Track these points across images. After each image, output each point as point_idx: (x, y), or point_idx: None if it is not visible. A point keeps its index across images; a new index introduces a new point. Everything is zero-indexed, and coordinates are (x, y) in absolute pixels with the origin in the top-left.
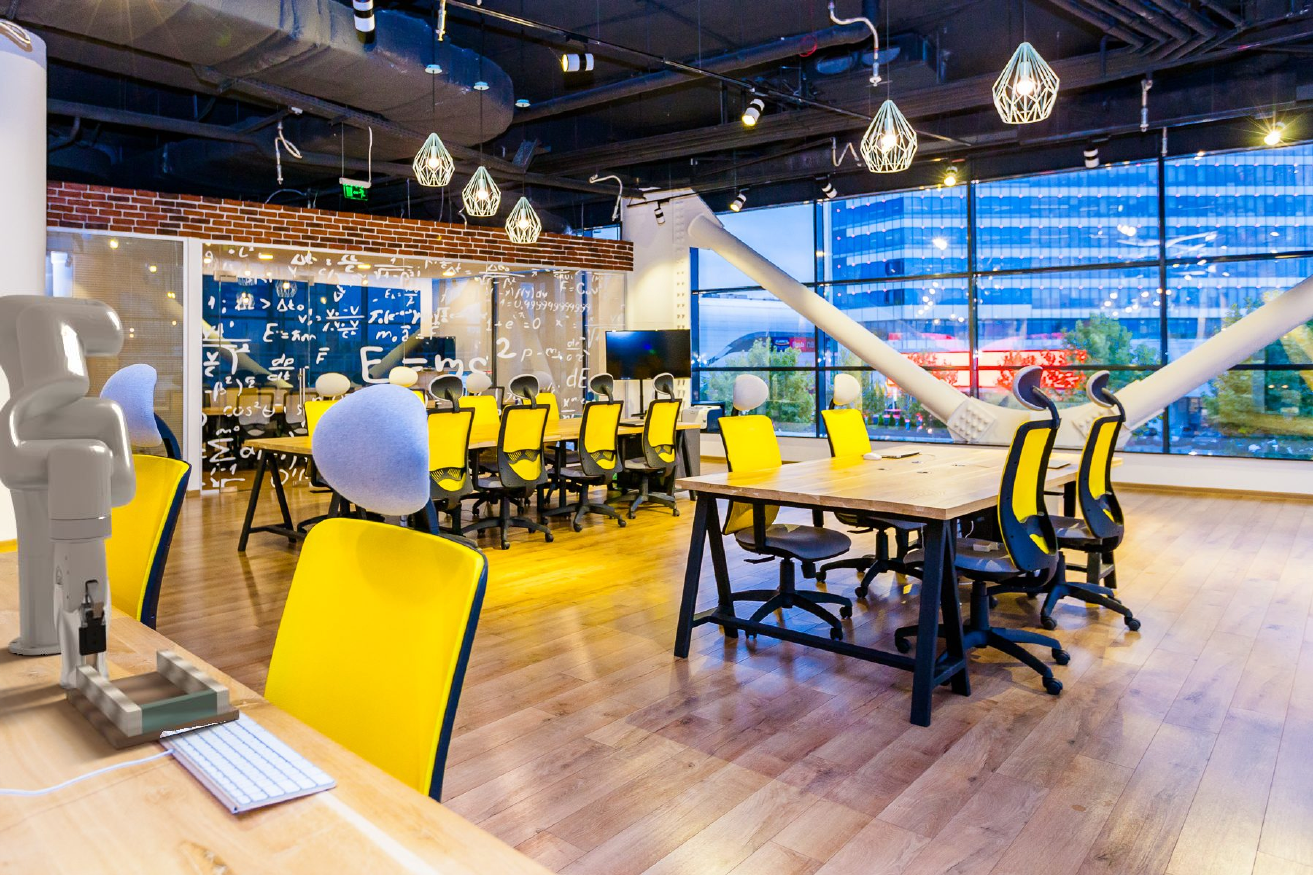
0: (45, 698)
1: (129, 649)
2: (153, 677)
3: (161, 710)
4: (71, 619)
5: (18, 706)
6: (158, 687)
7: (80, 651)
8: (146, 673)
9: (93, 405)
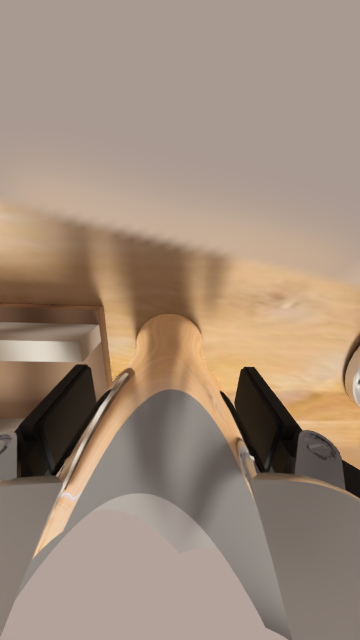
0: (124, 282)
1: None
2: None
3: None
4: (71, 440)
5: (107, 237)
6: (25, 401)
7: (71, 369)
8: None
9: None
